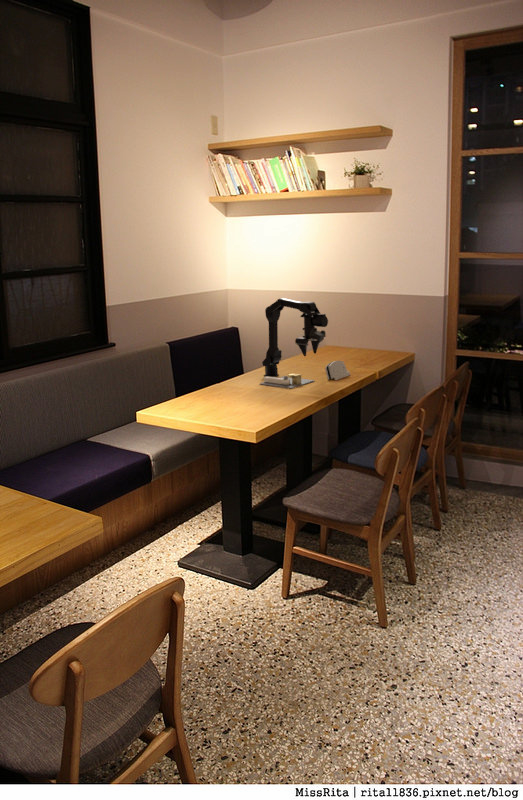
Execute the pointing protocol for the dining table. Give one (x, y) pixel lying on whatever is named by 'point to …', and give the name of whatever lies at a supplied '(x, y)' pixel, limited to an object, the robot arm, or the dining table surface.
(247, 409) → the dining table surface
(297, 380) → the block
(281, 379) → the link
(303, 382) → the board
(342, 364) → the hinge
